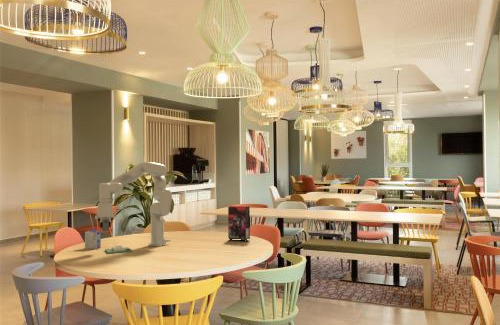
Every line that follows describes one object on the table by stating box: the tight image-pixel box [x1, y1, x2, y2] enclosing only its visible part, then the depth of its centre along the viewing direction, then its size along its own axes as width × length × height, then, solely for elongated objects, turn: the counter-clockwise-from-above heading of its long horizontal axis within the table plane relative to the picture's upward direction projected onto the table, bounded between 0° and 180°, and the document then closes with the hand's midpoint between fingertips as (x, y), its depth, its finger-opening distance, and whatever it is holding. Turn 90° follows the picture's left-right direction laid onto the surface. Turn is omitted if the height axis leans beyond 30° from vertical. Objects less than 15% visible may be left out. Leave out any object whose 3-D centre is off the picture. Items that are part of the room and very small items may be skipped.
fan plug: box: [101, 218, 110, 232], centre depth 306 cm, size 4×9×8 cm, turn 25°
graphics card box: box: [227, 205, 251, 240], centre depth 356 cm, size 17×7×27 cm, turn 58°
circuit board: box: [104, 245, 133, 255], centre depth 310 cm, size 16×13×3 cm
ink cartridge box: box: [84, 227, 102, 250], centre depth 323 cm, size 10×6×14 cm, turn 78°
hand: (105, 227), depth 308 cm, fingers closed on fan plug, 4 cm apart
